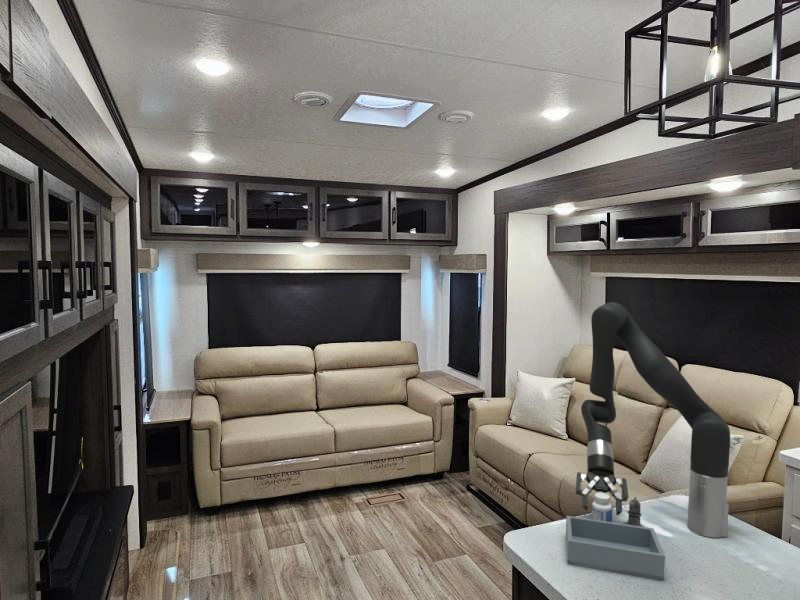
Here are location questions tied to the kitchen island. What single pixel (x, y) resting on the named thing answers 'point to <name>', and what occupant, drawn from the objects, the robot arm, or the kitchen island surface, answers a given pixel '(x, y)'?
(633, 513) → the grey stone chess piece
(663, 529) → the kitchen island surface
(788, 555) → the kitchen island surface
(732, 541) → the kitchen island surface
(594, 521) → the tote
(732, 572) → the kitchen island surface
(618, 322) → the robot arm
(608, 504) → the pill bottle
